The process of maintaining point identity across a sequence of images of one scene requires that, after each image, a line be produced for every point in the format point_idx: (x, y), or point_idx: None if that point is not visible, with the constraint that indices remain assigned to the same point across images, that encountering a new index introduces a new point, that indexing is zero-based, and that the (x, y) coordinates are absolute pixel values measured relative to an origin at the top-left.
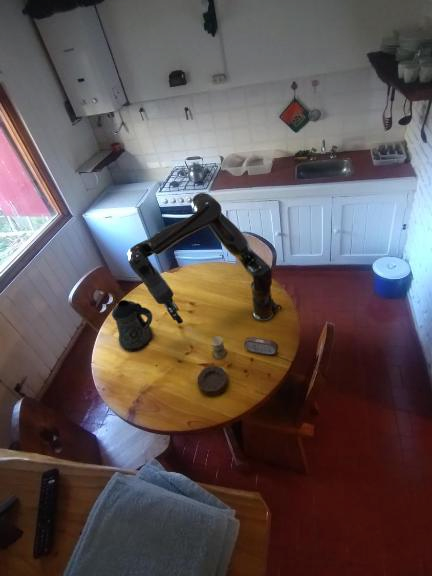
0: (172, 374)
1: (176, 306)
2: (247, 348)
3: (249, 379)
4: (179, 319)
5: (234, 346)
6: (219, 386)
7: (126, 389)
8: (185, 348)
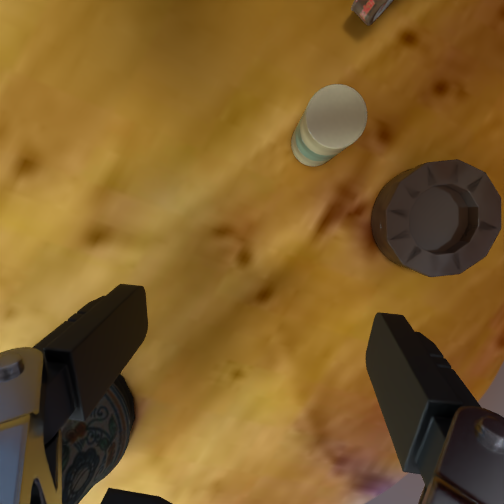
0: (305, 335)
1: (105, 320)
2: (374, 19)
3: (480, 92)
4: (456, 389)
5: (312, 72)
6: (494, 208)
7: (279, 483)
8: (216, 256)
